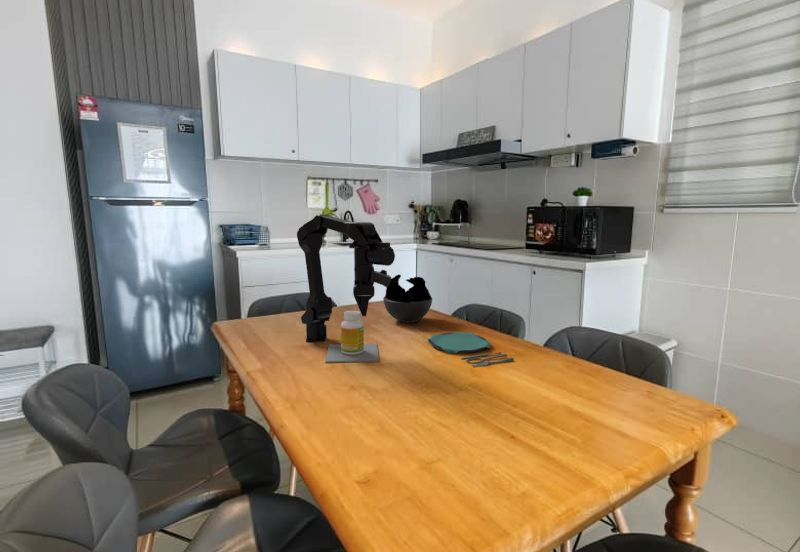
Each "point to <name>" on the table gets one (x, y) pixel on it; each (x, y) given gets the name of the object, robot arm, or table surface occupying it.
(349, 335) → the supplement bottle
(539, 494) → the table surface
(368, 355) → the grey mat
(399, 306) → the coal bowl
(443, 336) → the cutlery set
